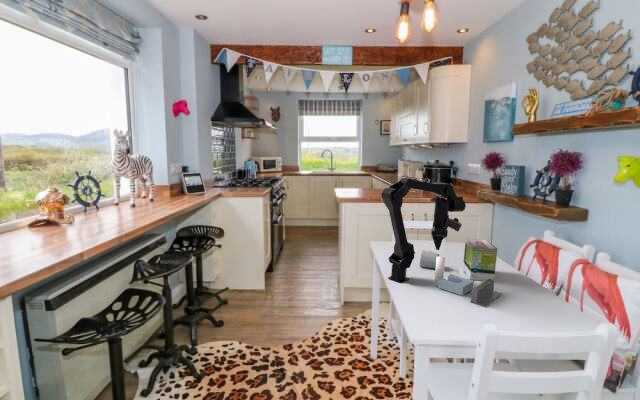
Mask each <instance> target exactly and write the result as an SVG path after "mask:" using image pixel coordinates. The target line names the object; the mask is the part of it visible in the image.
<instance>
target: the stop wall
mask: <svg viewBox="0 0 640 400" xmlns="http://www.w3.org/2000/svg"><path fill="white" fill-rule="evenodd" d="M494 287H495V279H494V280H492V279H488V280H486V281H482V282H481V283H480V284H478V285H477V286H475V287H473V289H472V290H471V297H470V303H471V304H474V305H477V306H480V307H483V308H486V307H487V306H489V305H490V304H491V303H493V302H494V301H496V300H497V299H498V298H500V296H502V295H503V294H502V292H499V291H495V290H494Z"/></svg>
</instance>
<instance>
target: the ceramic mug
mask: <svg viewBox="0 0 640 400" xmlns="http://www.w3.org/2000/svg"><path fill="white" fill-rule="evenodd" d="M438 256H440V254H439V253H437V252H433V251H427V250H423V249H422V250H421V252H420V258H419V267H421V268H427V269H436V257H438Z"/></svg>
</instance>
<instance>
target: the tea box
mask: <svg viewBox="0 0 640 400" xmlns="http://www.w3.org/2000/svg"><path fill="white" fill-rule="evenodd" d="M497 256H498V248H497V246H496V245H494V244H493V243H492V242H491V241H489V239H479V238H478V239H477V238H465V244H464V254H463V264H462V269H463V270H464V273H466V275H467V277H468V279H469V280H473V281H480V282H481V281H482V282H485V281H486V280H488V279H492V280H494V281H495V274H496V266H497V265H496V264H497Z"/></svg>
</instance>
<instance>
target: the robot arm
mask: <svg viewBox="0 0 640 400" xmlns="http://www.w3.org/2000/svg"><path fill="white" fill-rule="evenodd" d="M412 189H413V190H420V191H424V192H429V193H431V194H433V195H435V196H434V197H432V198H431V199H430V201H431V202H433V203H434V202H435V203H434V211H433V222H432V228H431V233H430V234H431V237H432V240H433V243H434V246H435V250H436V251H440V249H441V246H442V243H443V240H444V239H446V238H447V237H448V228H450V229H451V230H454V231H455V232H460V229H461V228H462V223H461V222H460V221H459V218H457V217H454V218H450V215H449V212H450V213H454V212H456V213H457V212H458V213H461V212H464V211H465V210H466V207H467V206H466V201H465V200H464V197H463V195H462V196H460V195H458V196H457V194H456V192H455V190H454V187H453V185H452V184H450V183H445V182H441V181H439V182H426V181H422V180H418V179H417V180H416V179H413V178H408V177H404V178H403V177H402V179H399V180H398V181H397V182H395V183H393V184H391V185H390V186H389V187H386V188H384V189H383V190H382V192H381V199H382V201H383V203H384V206H385V207H386V209H387V210H388V213H389V217H390V223H391V227H392V232H393V237H394V241H395V242H394V246H393V252H392V254H391V255H390V256H388V261H389V263H390V264H391V276H388V277H387V279H388V280H390V281H391V280H392V281H394V282H397V283H400V284H402V283H404V282H406V281H408V280H410V277H407V271H408V270H407V269H410V268H411V266H412V263H413V261H414V259H415V254H416V252H415V248H414V247H415V246H414V244H413V243H412V242H409V241H408V237H407V233H406V228H405V223H404V220H403V219H404V218H403V214H402V207H403V203H404V202H403V198H404V197H406V196H407V194H408V193H409V191H410V190H412Z"/></svg>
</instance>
